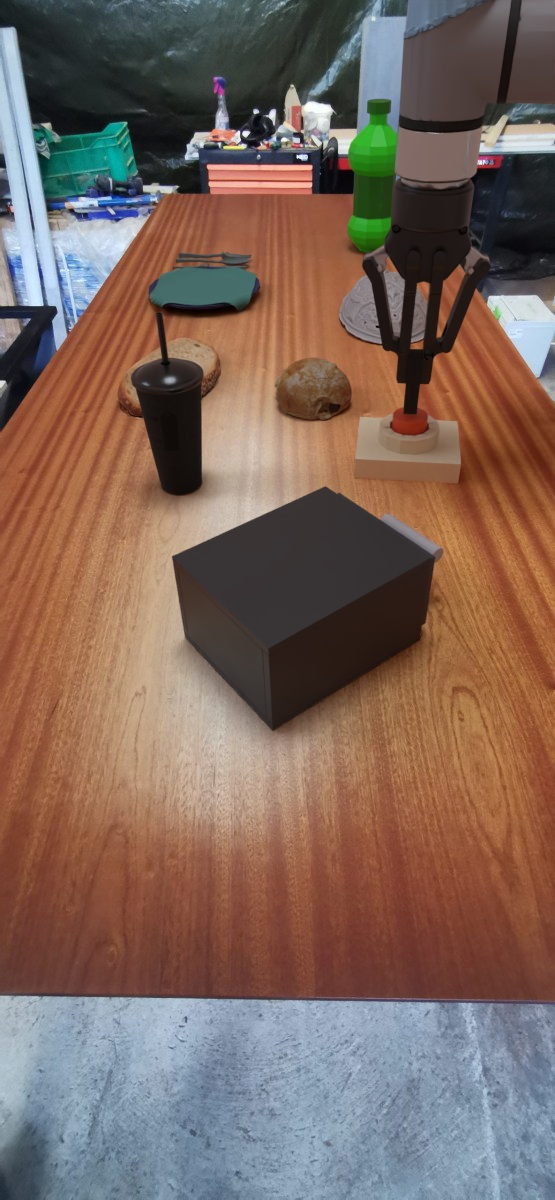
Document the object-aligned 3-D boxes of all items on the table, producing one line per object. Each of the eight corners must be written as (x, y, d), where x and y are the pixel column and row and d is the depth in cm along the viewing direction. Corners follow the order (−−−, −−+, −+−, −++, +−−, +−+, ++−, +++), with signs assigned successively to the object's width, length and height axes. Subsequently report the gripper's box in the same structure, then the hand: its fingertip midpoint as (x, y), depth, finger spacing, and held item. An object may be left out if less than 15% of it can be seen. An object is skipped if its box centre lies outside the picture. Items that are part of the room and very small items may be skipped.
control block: (454, 440, 92) (459, 407, 89) (458, 484, 85) (463, 450, 82) (358, 435, 94) (360, 403, 91) (353, 478, 86) (355, 445, 83)
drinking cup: (227, 482, 87) (213, 312, 73) (176, 510, 83) (151, 335, 69) (186, 459, 91) (165, 293, 77) (136, 484, 87) (105, 314, 73)
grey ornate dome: (341, 341, 114) (347, 296, 109) (335, 292, 133) (340, 252, 129) (441, 350, 114) (450, 306, 110) (420, 299, 133) (428, 260, 129)
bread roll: (297, 448, 99) (313, 408, 92) (255, 393, 101) (268, 350, 95) (353, 425, 103) (372, 385, 96) (312, 372, 106) (328, 330, 99)
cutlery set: (138, 318, 125) (136, 304, 123) (170, 260, 147) (169, 247, 146) (255, 318, 123) (254, 304, 122) (269, 259, 146) (269, 246, 144)
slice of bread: (202, 346, 116) (199, 322, 113) (253, 391, 104) (252, 365, 101) (91, 372, 110) (86, 348, 107) (133, 423, 98) (128, 397, 95)
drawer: (369, 540, 76) (374, 475, 71) (459, 603, 69) (471, 536, 63) (208, 623, 68) (199, 557, 62) (290, 705, 60) (289, 638, 55)
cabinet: (324, 565, 75) (325, 485, 68) (420, 640, 67) (432, 557, 60) (184, 637, 68) (171, 556, 61) (272, 731, 59) (268, 648, 53)
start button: (426, 420, 88) (427, 407, 87) (426, 437, 85) (428, 423, 84) (392, 419, 88) (393, 405, 87) (391, 435, 85) (392, 422, 84)
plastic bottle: (344, 241, 153) (349, 96, 136) (395, 240, 152) (406, 95, 136) (345, 257, 145) (350, 106, 129) (399, 256, 145) (411, 104, 128)
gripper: (502, 169, 71) (466, 395, 87) (366, 168, 73) (355, 391, 88) (509, 189, 66) (469, 427, 81) (362, 188, 67) (351, 421, 83)
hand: (410, 408), depth 85 cm, fingers closed
